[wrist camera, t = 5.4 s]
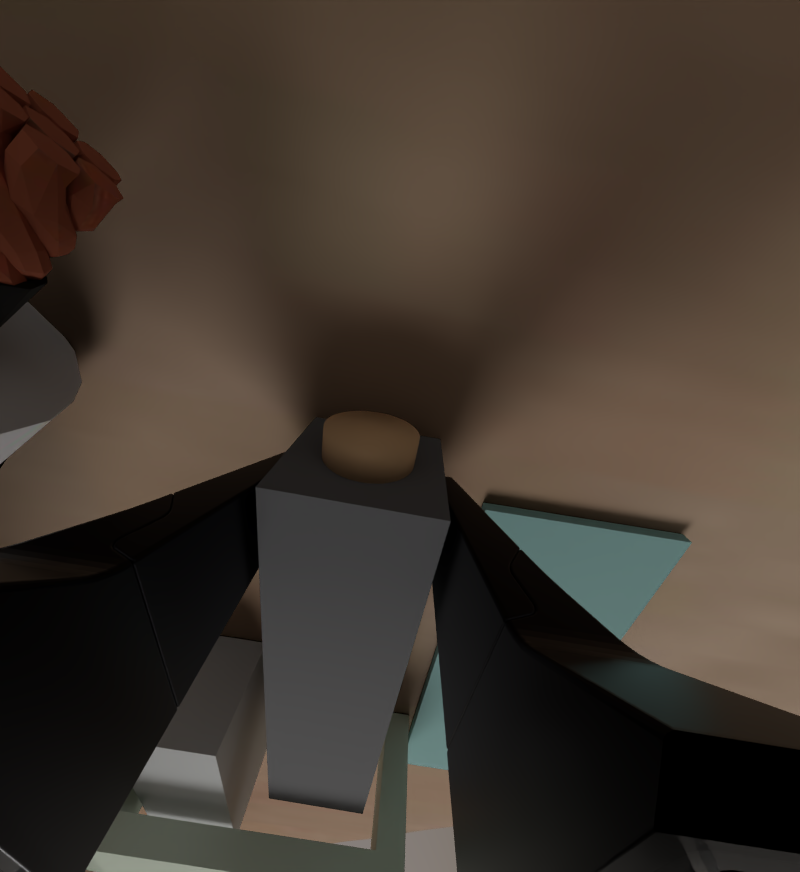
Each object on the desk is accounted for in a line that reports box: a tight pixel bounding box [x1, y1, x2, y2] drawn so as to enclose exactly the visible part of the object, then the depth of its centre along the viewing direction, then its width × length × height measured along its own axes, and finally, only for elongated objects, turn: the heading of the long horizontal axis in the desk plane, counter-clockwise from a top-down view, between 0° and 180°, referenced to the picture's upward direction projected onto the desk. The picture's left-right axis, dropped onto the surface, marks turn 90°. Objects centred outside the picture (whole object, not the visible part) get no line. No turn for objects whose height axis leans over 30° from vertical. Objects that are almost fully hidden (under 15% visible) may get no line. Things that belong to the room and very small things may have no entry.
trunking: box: [133, 636, 267, 829], centre depth 15 cm, size 9×4×4 cm, turn 172°
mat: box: [408, 503, 692, 770], centre depth 14 cm, size 19×7×1 cm, turn 172°
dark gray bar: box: [256, 411, 451, 814], centre depth 11 cm, size 18×4×4 cm, turn 171°
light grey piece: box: [86, 713, 409, 872], centre depth 15 cm, size 3×13×6 cm, turn 82°
